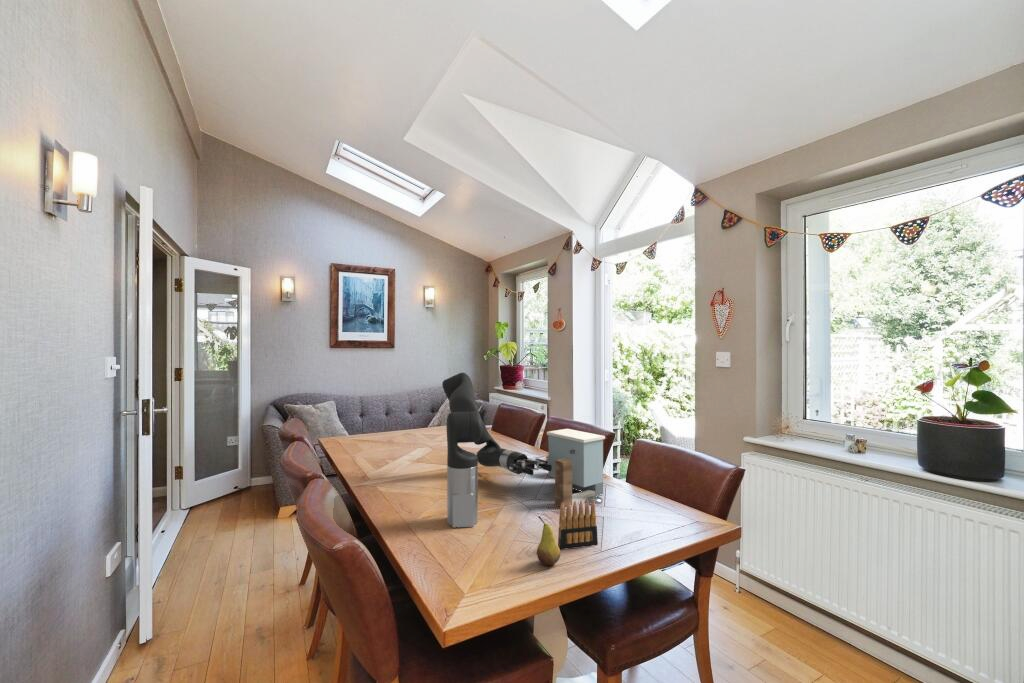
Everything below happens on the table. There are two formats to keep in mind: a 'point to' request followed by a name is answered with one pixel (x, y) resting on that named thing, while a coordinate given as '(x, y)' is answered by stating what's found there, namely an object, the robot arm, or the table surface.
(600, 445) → the cabinet
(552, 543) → the fruit
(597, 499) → the steel puck
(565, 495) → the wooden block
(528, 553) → the table surface
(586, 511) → the ammunition clip
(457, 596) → the table surface
